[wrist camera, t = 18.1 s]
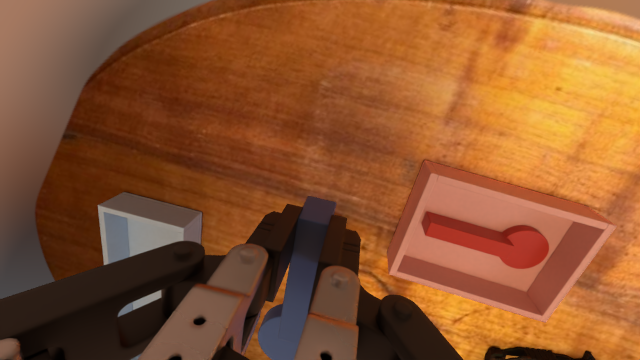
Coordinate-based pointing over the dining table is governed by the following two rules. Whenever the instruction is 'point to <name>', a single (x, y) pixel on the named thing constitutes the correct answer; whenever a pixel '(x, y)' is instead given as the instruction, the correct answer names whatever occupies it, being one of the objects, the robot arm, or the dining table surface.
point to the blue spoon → (297, 282)
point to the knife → (529, 354)
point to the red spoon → (491, 240)
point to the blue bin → (143, 231)
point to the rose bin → (498, 214)
